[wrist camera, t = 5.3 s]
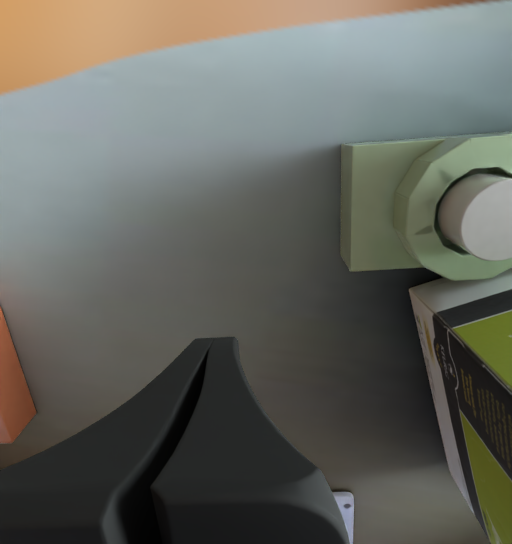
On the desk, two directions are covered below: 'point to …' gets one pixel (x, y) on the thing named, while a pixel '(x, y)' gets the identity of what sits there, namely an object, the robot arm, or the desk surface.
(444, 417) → the tea box
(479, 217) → the light grey round peg
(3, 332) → the button housing
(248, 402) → the robot arm
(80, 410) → the desk surface
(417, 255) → the sage dispenser
